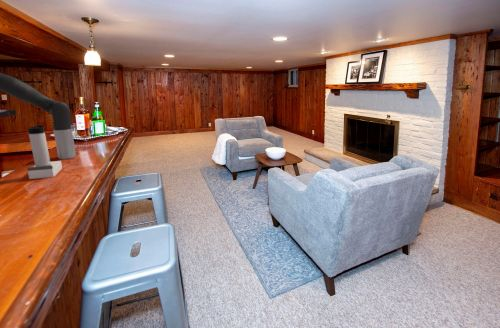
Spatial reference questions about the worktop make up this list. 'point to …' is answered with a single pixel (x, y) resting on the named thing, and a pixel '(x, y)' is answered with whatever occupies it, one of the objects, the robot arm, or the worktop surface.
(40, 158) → the travel mug
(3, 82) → the robot arm
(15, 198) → the worktop surface
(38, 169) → the dock
